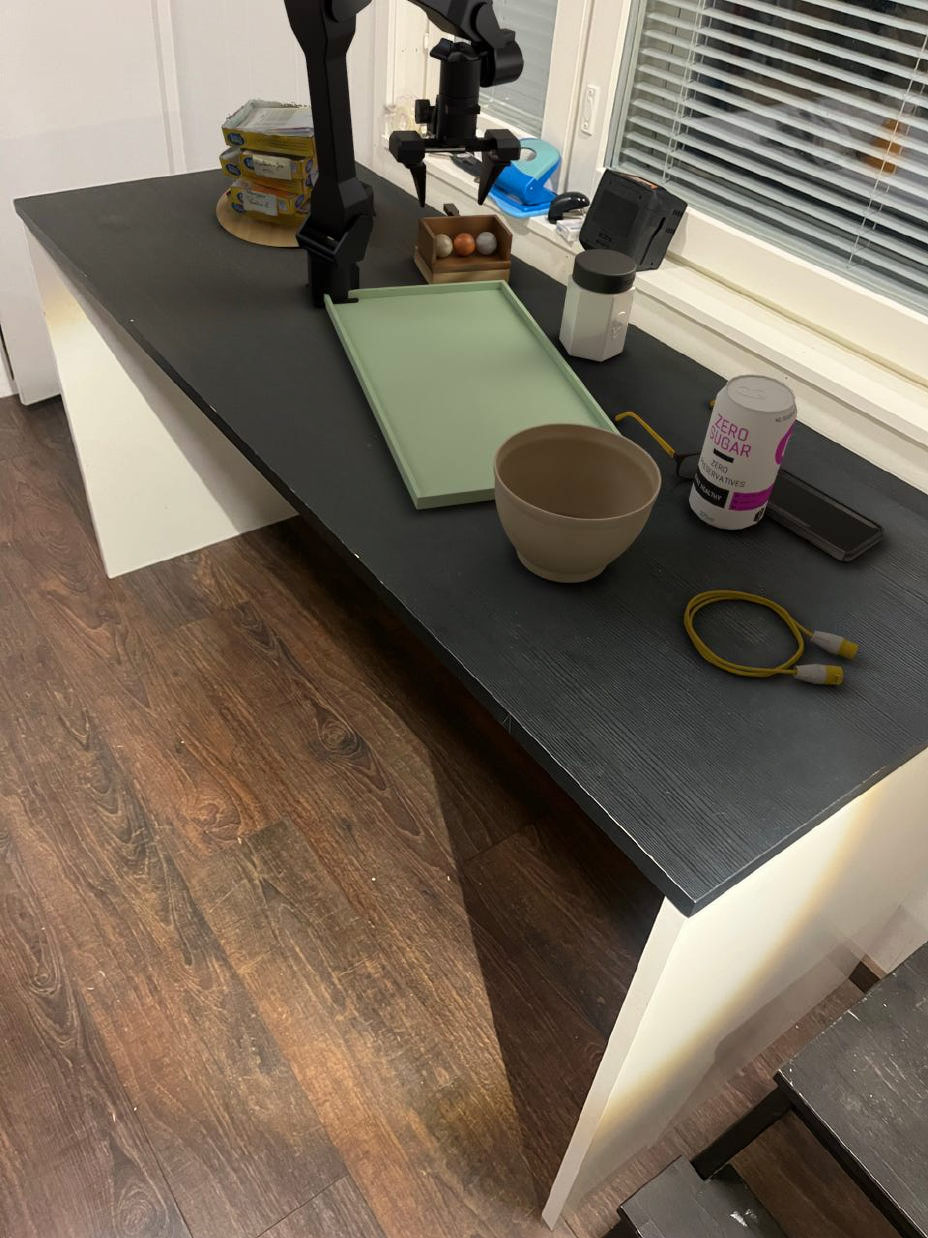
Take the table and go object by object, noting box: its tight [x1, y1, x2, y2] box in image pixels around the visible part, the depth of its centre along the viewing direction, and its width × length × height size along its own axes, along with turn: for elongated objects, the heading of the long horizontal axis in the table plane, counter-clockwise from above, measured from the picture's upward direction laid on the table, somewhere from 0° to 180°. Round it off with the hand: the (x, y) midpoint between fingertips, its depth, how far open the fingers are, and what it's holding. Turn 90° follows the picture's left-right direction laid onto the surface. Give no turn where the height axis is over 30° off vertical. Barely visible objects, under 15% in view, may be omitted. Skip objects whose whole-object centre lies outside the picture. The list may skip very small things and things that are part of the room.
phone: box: [763, 466, 885, 562], centre depth 106 cm, size 8×1×15 cm
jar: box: [558, 248, 638, 363], centre depth 128 cm, size 9×8×12 cm
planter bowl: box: [493, 423, 662, 584], centre depth 95 cm, size 16×16×11 cm
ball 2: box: [453, 233, 475, 256], centre depth 142 cm, size 3×3×3 cm
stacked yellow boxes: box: [215, 97, 335, 248], centre depth 150 cm, size 25×25×17 cm
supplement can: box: [688, 373, 798, 531], centre depth 101 cm, size 8×8×15 cm
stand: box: [413, 245, 511, 286], centre depth 145 cm, size 12×10×2 cm
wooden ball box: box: [417, 202, 514, 274], centre depth 143 cm, size 12×13×5 cm
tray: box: [324, 280, 623, 510], centre depth 122 cm, size 27×49×2 cm, turn 18°
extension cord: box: [683, 589, 859, 686], centre depth 90 cm, size 12×16×2 cm
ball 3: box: [476, 232, 497, 255], centre depth 143 cm, size 3×3×3 cm
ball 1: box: [436, 234, 452, 257], centre depth 141 cm, size 3×3×3 cm
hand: (451, 205), depth 144 cm, fingers open, 9 cm apart
